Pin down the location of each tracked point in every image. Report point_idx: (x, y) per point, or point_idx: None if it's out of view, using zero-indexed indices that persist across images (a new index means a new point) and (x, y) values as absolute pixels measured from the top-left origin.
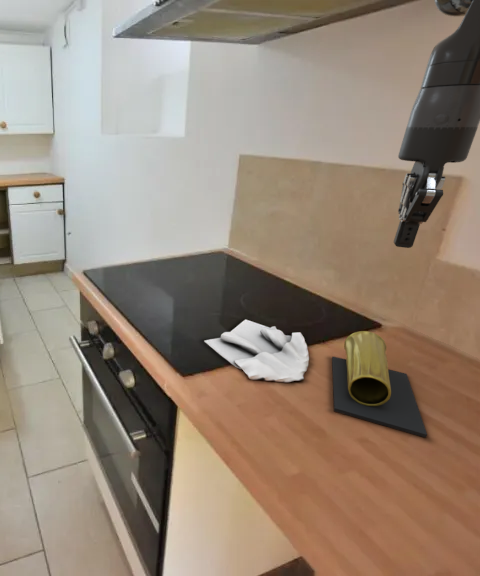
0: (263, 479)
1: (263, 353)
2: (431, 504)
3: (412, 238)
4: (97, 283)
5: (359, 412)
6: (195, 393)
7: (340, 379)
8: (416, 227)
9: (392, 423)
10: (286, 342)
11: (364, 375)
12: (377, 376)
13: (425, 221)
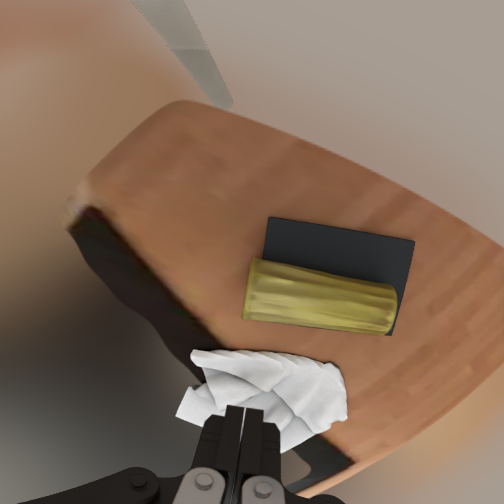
0: (475, 386)
1: (296, 412)
2: (488, 269)
3: (279, 442)
4: None
5: None
6: (382, 449)
7: None
8: (280, 476)
9: (405, 276)
10: (249, 384)
11: (388, 329)
12: (389, 314)
13: (337, 499)
